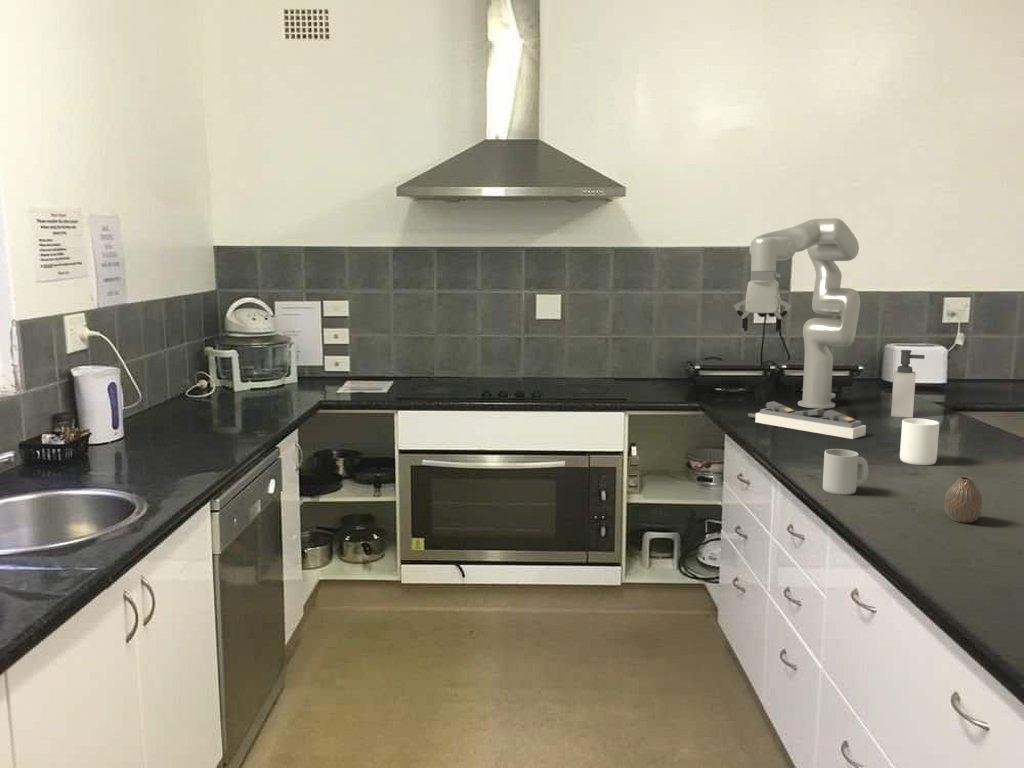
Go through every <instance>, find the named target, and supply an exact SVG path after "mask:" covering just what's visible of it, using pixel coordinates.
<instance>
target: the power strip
mask: <svg viewBox="0 0 1024 768" xmlns="http://www.w3.org/2000/svg"><path fill="white" fill-rule="evenodd" d="M795 412H799V411H798V410H795ZM795 412H793V413H782V412H776V411H775V410H772V409H770V408H768V407H765V408H761V409H760V410H759V412H755V413H751V412H749V413H747V417H749V418H753V419H755V420H754V422H755V423H759V424H763V425H769V426H776V427H781V428H787V429H792V430H798V431H805V432H810V433H816V434H821V435H826V436H832V437H833V436H834V437H839V438H844V439H848V440H849V439H850V440H855V439H858V438H861V437H865V436H866V431H867V426H866V425H865V424H862V420H858V419H857V420H856V419H855V422H851V423H846V422H839V421H834V420H833V419H831V418H828V417H826V416H823V415H824V414H818V415H810V416H801V415H795V414H794V413H795Z"/></svg>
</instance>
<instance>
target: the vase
mask: <svg viewBox="0 0 1024 768" xmlns="http://www.w3.org/2000/svg"><path fill="white" fill-rule="evenodd" d="M984 504H985V502H984V497H983V494H982V492H981V490H980V489H979V488H978V486H977V485H976V484H975V481H974V479H973V478H972V477H970V476H960V477H958V478H957V480H956V481H955V482H954V483H953V484H952V485H951V486H950V487H949V488H948V490H946V494H945V497H944V510H945V512H946V514H947V515H948V517H949V518H950V519H951V520H952V521H955V522H957V523H961V524H962V523H963V524H970V523H974V522H975V521H977V520H978V519H979V518H980V517H981V515H982V514H983V511H984Z"/></svg>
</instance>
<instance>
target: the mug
mask: <svg viewBox="0 0 1024 768" xmlns="http://www.w3.org/2000/svg"><path fill="white" fill-rule="evenodd" d="M939 432H940V422H939V421H937V420H933V419H927V418H920V417H919V418H914V417H913V418H910V417H907V418H904V419H902V420H901V436H900V445H899V447H900V449H899V459H900V461H902V462H903V463H906V464H908V465H914V466H932V465H934V464H936V463H937V459H938V445H939Z"/></svg>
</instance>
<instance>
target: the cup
mask: <svg viewBox="0 0 1024 768" xmlns="http://www.w3.org/2000/svg"><path fill="white" fill-rule="evenodd" d="M823 456H824V457H823V473H822V475H823V477H822V489H823V491H825V492H827V493H829V494H834V495H840V494H841V496H843V495H844V496H848V495H853V494H855V493H856V492H857V486H860V485H863V483H865V482H866V480H867V479H868V476H869V465H868V462H867V460H866V459H865V458H864V457H862V456H859V453H858V452H857V451H854V450H851V449H842V448H830V449H828V448H827V449H825V450H824V454H823ZM859 465H860V475H859V476H858V468H859Z"/></svg>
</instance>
